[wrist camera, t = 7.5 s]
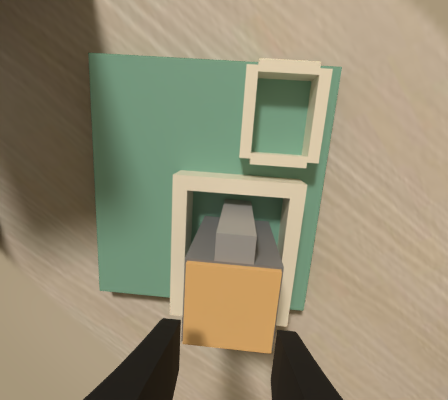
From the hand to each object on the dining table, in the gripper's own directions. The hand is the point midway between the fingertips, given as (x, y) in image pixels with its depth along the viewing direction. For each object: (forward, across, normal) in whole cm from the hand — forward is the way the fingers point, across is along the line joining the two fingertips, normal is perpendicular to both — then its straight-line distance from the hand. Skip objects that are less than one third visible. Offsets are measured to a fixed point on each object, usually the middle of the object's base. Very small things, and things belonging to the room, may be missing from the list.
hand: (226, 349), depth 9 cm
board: (+9, +2, -4) cm, 10 cm away
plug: (+8, 0, 0) cm, 8 cm away
